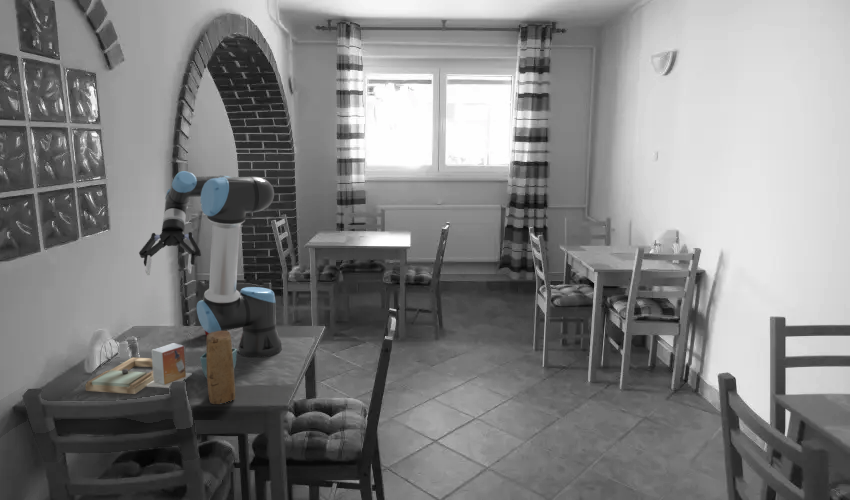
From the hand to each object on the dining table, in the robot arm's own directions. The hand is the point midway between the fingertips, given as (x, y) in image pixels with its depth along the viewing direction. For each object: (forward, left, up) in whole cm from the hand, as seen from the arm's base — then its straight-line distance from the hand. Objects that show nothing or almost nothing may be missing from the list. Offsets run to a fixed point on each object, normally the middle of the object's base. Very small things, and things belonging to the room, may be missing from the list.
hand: (168, 272), depth 203 cm
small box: (-12, +23, -29) cm, 39 cm away
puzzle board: (+1, +22, -30) cm, 37 cm away
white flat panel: (-12, +23, -30) cm, 39 cm away
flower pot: (-27, +20, -30) cm, 45 cm away
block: (-34, +33, -30) cm, 56 cm away
